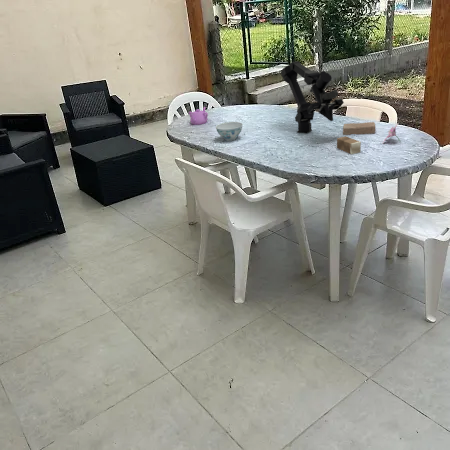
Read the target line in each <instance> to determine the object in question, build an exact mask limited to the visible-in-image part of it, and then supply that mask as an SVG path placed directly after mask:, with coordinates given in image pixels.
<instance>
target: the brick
mask: <svg viewBox="0 0 450 450" xmlns="http://www.w3.org/2000/svg"><path fill="white" fill-rule="evenodd" d="M376 129H377V128H376V123H375V122H374V121H370V122H369V121H368V122H367V121H366V122H353V123H344V124H343V125H342V135H343V136H348V135H349V136H350V135H351V134H356V135H371V134H375V133H376Z"/></svg>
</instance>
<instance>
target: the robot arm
mask: <svg viewBox="0 0 450 450" xmlns="http://www.w3.org/2000/svg"><path fill="white" fill-rule="evenodd" d="M298 75H299V76H300V77H301V78H303V81H304V82H305V84H306V85H308V86H311V87H310V90H309V93H313V96H314V102H312V103H311V102H307V101H306V99H305V96H304V93H303V91H302V89H301V86H300V84H299V82H298ZM280 76H281V77H282V79H283V81H284V82H285V83H287V84H288V86H289V89H290V90H291V93H292V96H293V98H294V101H295V102H296V105H297V109H296V116H294V120H295V122H297V131H296V133H299V134H308V133H309V132H311V131H313V129H312V123H311V121H313V120H314V118H315V117H314V116H315V111H316V110H318V114H319V115H320V116H321V115H322V116H323V117H324V118H326V119H327V120H328V121H330V122H333V121H334V115H333V114H334V113H333V111H335V110H339V109H340V108H341V107H342V105H343V104H345V102H344V100H343V99H342V98H338V99H337V97H338V96H339V92H338V90H337V89H333V90H331V91H326V90H325V89H327V87H328V85H329V84H330V83H331V81H332V78H333V77H332V75H331V74H329V73H328V72H326V71H325V70H322V71H320V72H319V71H317V70H312V69H311V70H310V68H307V67H306V66H305V65H303V64H302V63H301V62H300V61H298V60H297V61H292V62H290V63H289V64H288V65H287V66H285V67H283V68H282V70H281V71H280ZM333 99H334V100H333Z"/></svg>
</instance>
